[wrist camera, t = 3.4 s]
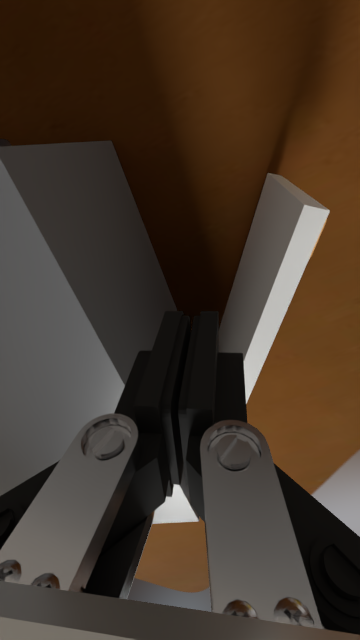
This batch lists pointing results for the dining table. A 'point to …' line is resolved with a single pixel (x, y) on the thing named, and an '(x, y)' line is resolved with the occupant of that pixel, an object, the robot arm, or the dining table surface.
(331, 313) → the dining table surface
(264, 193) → the side door
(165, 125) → the dining table surface
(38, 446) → the box
